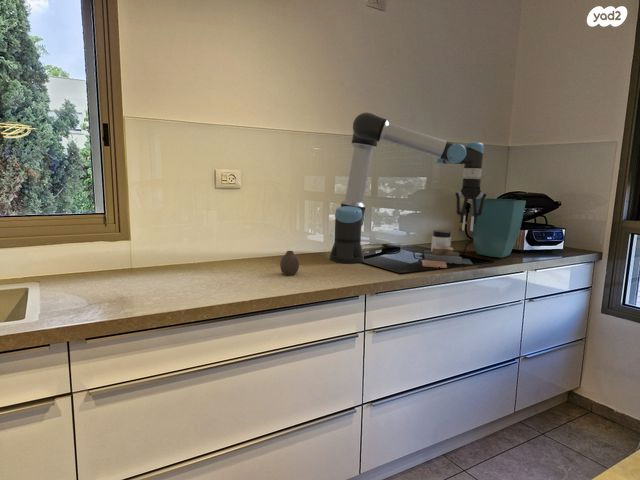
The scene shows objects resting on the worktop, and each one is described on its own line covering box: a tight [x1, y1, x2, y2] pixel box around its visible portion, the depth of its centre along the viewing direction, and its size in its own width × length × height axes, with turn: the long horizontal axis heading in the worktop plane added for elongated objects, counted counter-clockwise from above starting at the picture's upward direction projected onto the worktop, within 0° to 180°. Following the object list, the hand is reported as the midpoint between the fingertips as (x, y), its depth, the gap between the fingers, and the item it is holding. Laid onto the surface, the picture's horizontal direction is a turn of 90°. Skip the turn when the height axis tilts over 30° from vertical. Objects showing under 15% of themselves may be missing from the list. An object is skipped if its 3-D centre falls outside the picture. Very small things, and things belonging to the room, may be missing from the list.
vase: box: [279, 250, 300, 277], centre depth 154 cm, size 7×7×9 cm
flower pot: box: [471, 197, 527, 259], centre depth 209 cm, size 20×20×28 cm
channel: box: [423, 250, 463, 265], centre depth 193 cm, size 16×12×3 cm
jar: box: [430, 229, 452, 251], centre depth 205 cm, size 9×8×12 cm
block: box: [432, 246, 454, 256], centre depth 192 cm, size 9×7×6 cm
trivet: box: [421, 259, 448, 269], centre depth 182 cm, size 10×10×1 cm
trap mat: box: [461, 258, 474, 266], centre depth 191 cm, size 5×12×1 cm, turn 167°
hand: (467, 230), depth 189 cm, fingers open, 3 cm apart
